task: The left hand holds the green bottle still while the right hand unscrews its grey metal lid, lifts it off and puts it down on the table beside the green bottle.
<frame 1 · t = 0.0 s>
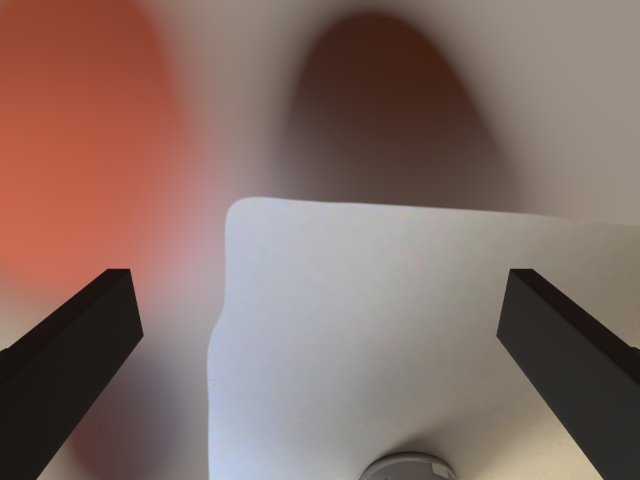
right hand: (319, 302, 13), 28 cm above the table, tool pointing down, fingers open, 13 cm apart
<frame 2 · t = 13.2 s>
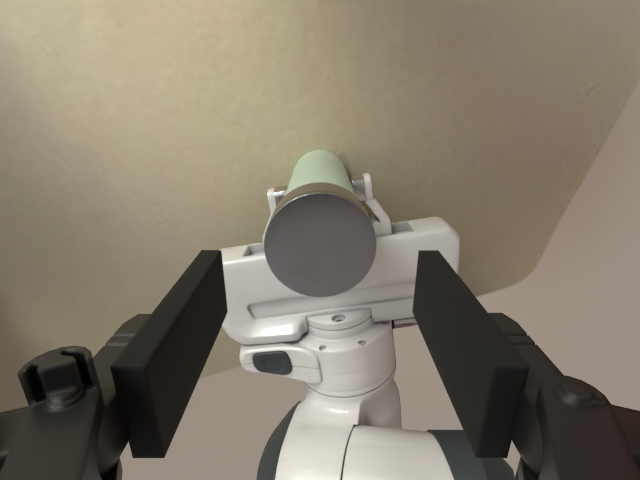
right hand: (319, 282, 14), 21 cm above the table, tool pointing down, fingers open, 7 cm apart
left hand: (317, 181, 28), fingers closed on green bottle, 5 cm apart
lid: (320, 245, 18), point 17 cm above the table, screwed on, not yet turned
green bottle: (320, 176, 34), on the table, touching left hand
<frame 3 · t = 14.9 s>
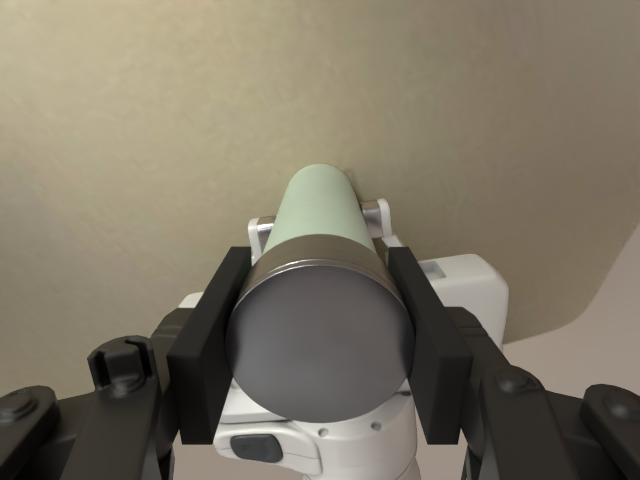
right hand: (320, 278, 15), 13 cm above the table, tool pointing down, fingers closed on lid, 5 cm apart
left hand: (316, 211, 20), fingers closed on green bottle, 5 cm apart
lid: (320, 344, 11), point 17 cm above the table, screwed on, not yet turned, touching right hand
green bottle: (319, 197, 27), on the table, touching left hand
when the right hand's fingers open (13 cm above the table, at t = 16.2 s): lid stays where it is, point 17 cm above the table.
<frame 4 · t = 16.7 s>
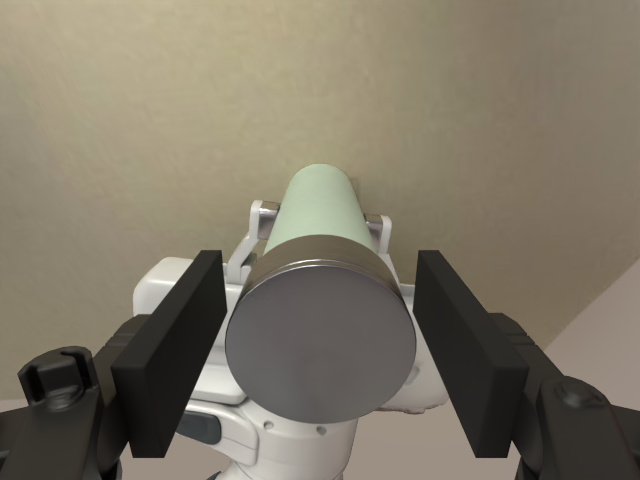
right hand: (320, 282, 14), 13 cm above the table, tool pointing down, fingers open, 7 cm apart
left hand: (321, 210, 21), fingers closed on green bottle, 5 cm apart
lid: (320, 344, 11), point 17 cm above the table, turned 60° so far, risen 0.2 cm, still on its thread
green bottle: (320, 197, 27), on the table, touching left hand
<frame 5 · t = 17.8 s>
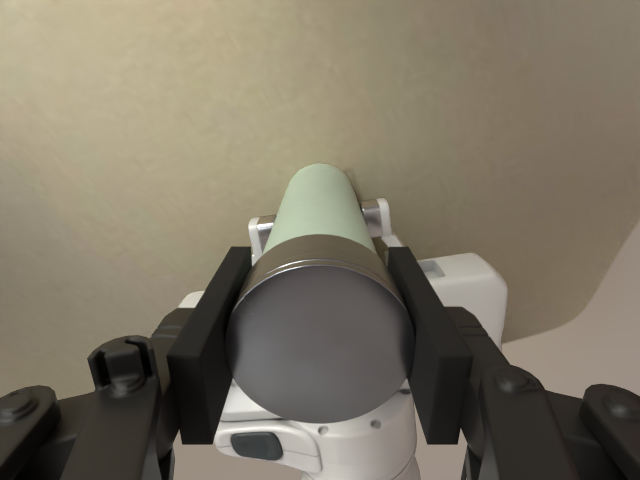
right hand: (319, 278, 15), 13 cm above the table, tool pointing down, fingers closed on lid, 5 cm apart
left hand: (316, 210, 21), fingers closed on green bottle, 5 cm apart
lid: (319, 344, 11), point 17 cm above the table, turned 60° so far, risen 0.2 cm, still on its thread, touching right hand
green bottle: (319, 197, 27), on the table, touching left hand
when the right hand's fingers open (0 cm above the table, at t = 24.1 s): lid drops 2 cm, point 2 cm above the table.
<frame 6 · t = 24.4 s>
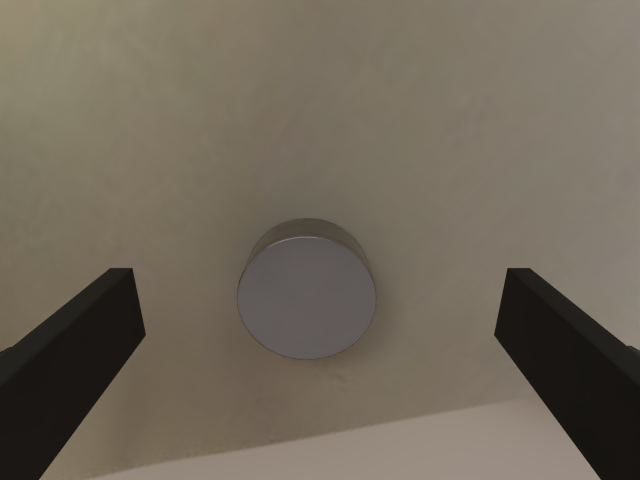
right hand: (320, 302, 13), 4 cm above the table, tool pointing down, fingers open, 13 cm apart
lid: (307, 297, 15), point 2 cm above the table, off its thread
when the left hand's fingers open (6 cm above the table, at t = 24.8 s): green bottle stays where it is, on the table.
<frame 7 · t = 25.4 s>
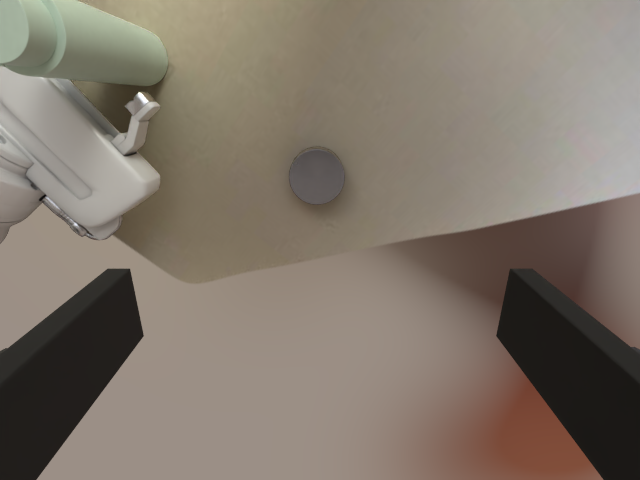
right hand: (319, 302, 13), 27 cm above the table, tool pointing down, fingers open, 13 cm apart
left hand: (105, 47, 28), fingers open, 8 cm apart
lid: (316, 177, 36), point 2 cm above the table, off its thread
green bottle: (141, 57, 34), on the table
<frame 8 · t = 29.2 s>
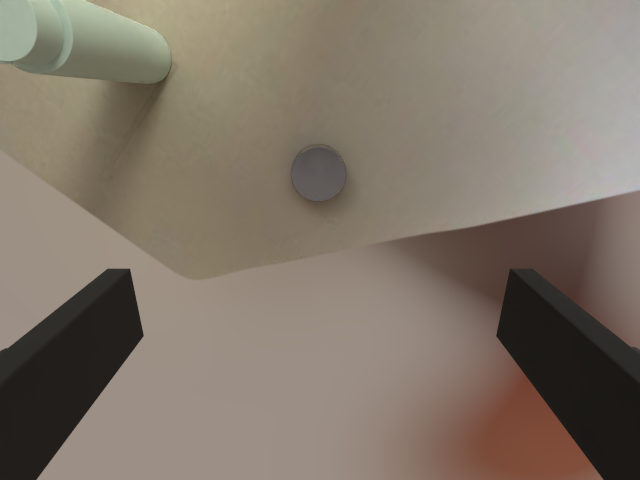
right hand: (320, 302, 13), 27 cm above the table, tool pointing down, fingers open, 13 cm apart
lid: (318, 174, 37), point 2 cm above the table, off its thread
green bottle: (145, 55, 35), on the table
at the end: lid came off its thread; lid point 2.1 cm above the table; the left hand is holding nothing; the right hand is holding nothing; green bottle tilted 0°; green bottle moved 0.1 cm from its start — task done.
